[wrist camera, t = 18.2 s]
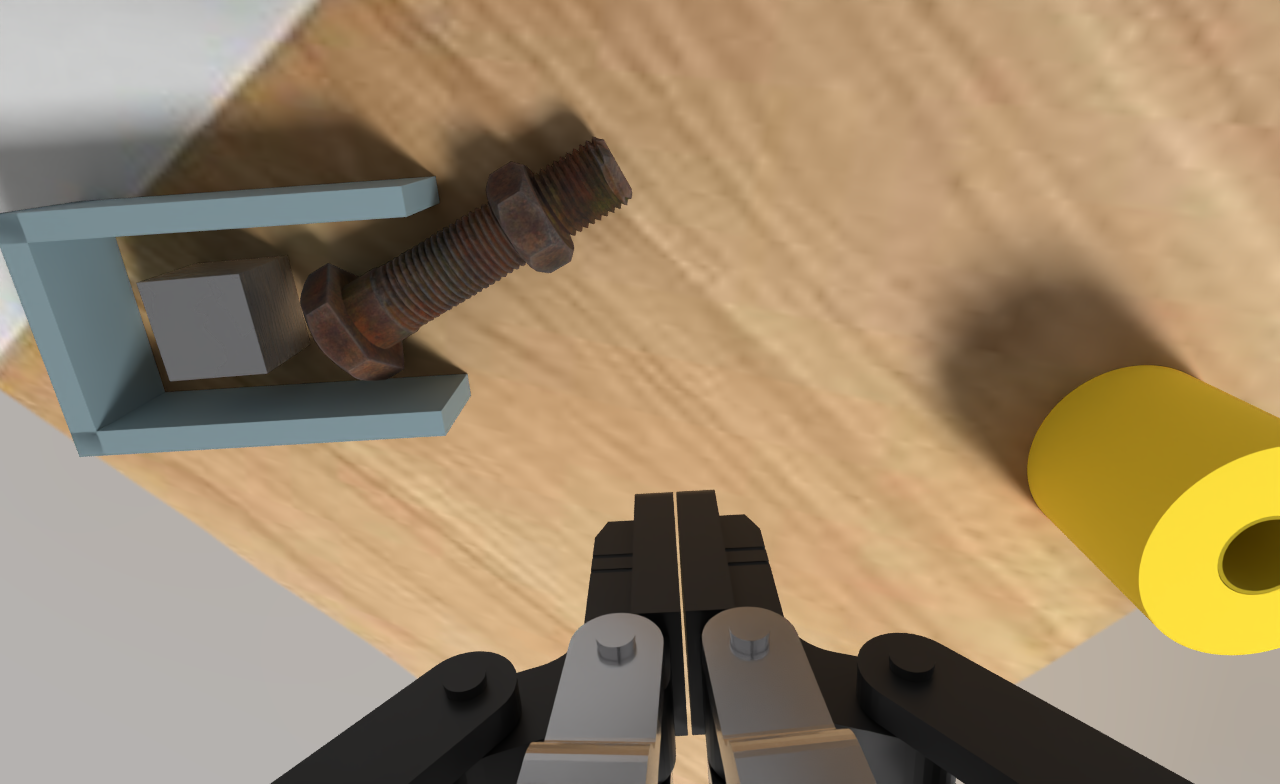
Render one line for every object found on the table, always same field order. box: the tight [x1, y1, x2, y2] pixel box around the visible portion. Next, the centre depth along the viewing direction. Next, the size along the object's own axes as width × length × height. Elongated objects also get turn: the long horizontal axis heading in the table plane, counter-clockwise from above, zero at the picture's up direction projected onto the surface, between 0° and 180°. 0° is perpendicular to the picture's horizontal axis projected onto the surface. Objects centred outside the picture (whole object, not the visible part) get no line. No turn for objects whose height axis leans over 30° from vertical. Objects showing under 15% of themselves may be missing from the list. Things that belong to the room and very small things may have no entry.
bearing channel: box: [0, 176, 471, 457], centre depth 33 cm, size 11×17×5 cm, turn 94°
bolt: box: [300, 137, 632, 381], centre depth 33 cm, size 6×5×15 cm
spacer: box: [137, 255, 310, 381], centre depth 34 cm, size 4×4×4 cm
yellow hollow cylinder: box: [1027, 365, 1280, 655], centre depth 34 cm, size 10×10×9 cm
